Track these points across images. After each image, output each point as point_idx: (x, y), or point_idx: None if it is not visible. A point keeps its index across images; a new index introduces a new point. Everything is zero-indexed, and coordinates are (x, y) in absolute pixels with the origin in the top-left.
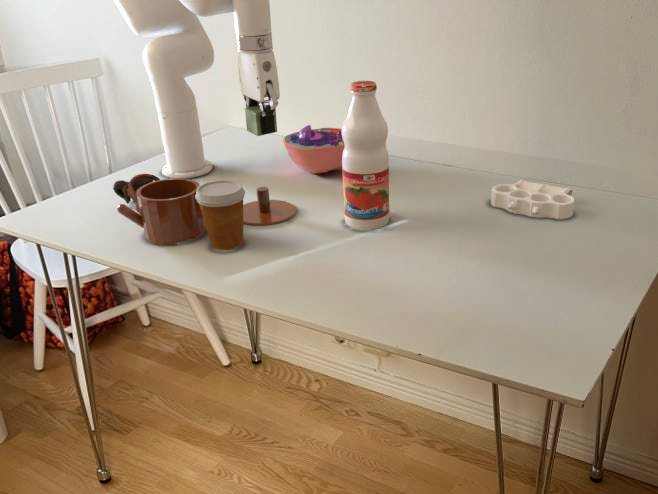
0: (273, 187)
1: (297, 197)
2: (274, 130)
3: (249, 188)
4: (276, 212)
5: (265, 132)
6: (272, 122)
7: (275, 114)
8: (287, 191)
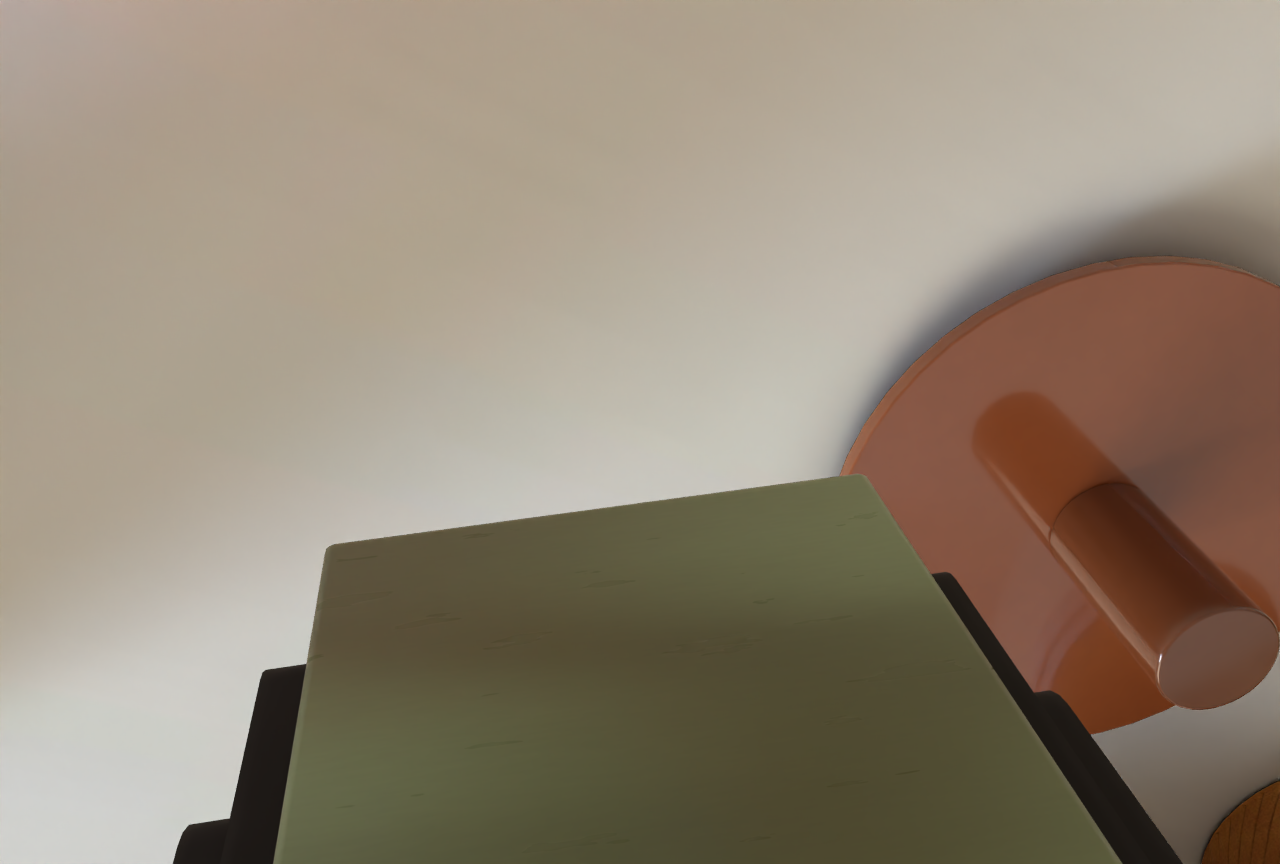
0: (446, 153)
1: (907, 57)
2: (957, 595)
3: (330, 388)
4: (1204, 460)
5: None
6: (1135, 802)
7: (1053, 774)
8: (667, 69)
